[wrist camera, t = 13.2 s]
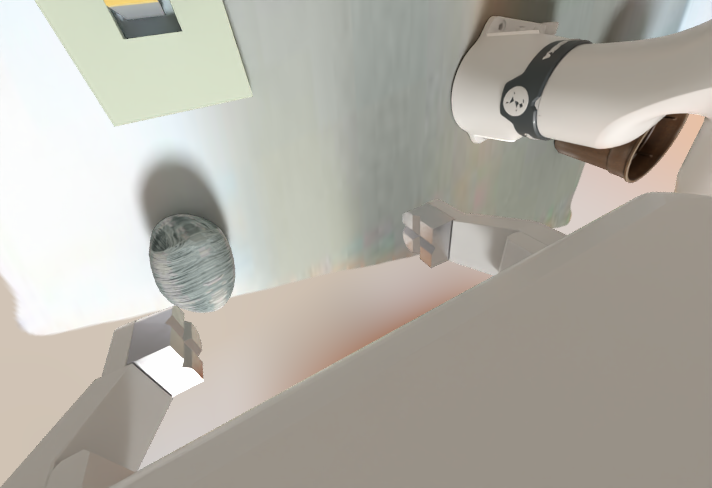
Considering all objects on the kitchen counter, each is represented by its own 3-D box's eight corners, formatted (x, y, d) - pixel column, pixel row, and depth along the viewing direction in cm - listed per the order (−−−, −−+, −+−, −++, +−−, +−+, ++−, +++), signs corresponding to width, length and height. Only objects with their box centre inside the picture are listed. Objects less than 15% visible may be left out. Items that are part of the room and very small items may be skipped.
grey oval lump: (116, 217, 30) (167, 271, 27) (202, 191, 37) (250, 232, 33) (147, 292, 39) (188, 339, 36) (211, 261, 45) (251, 298, 42)
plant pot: (589, 141, 71) (670, 157, 59) (543, 173, 69) (618, 197, 57) (605, 73, 61) (707, 77, 49) (551, 110, 59) (644, 123, 47)
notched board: (204, -50, 26) (204, -54, 24) (250, 95, 33) (253, 96, 32) (16, -38, 21) (6, -44, 20) (117, 123, 29) (114, 126, 28)
